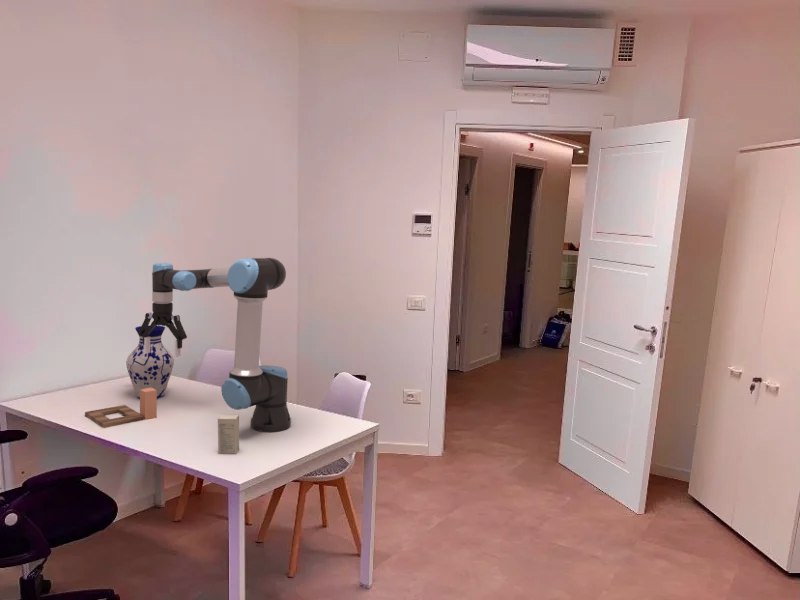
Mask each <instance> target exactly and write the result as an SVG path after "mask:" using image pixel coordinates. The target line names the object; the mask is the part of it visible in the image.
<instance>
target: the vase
mask: <svg viewBox="0 0 800 600" xmlns="http://www.w3.org/2000/svg"><path fill="white" fill-rule="evenodd" d="M141 326H142V325H140V326H136V327H135V328H134V330H135V331H136V333H137V334H138V332H139V330H140V328H141ZM149 326H150V325H148V327H149ZM148 327H147V329H148ZM147 329H146V330H147ZM165 330H166V326H162V325H157V326H156V327H155V328H154V329H153V331H152V332H151V333H150V334H149V336H148V337H150V353H147V354H144V345H143V337H142V336H141V335H138V337H139V341H138V344H137V346H136V347H135V348H134V349H133V350H132V351H131V353H130V354H129V355H128V356H127V358H126V368H127V374H128V376H129V379H130V381H131V384H132V387H133V390H134V393H135V395H136V398H138V399H140V389H146V388H153V389H155V390H157V399H160V398H162V397H164V396H165V393H166V390H167V387H168V383H169V380H170V378H171V375H172V372H173V368H174V365H175V359H174V356H173V354H172V353H171V352H170V351H169V350H168V349H167V348H166V347H165V346H164V344H163V342H162V335H163V333H164V331H165Z"/></svg>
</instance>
